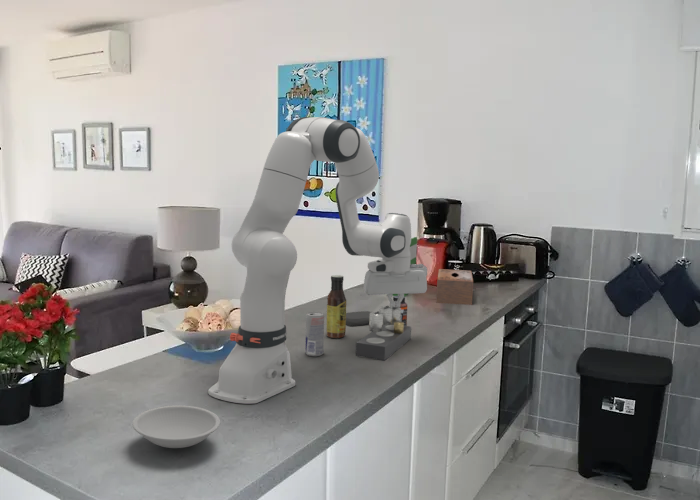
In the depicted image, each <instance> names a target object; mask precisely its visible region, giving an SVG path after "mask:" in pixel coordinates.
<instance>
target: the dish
mask: <svg viewBox="0 0 700 500" xmlns="http://www.w3.org/2000/svg"><path fill="white" fill-rule="evenodd" d="M220 425H221V420H220V417H219V416H218V415H217V414H216V413H214V412H213V411H210V410H209V409H206V408H203V407H199V406H193V405H179V404H178V405H165V406H159V407H154V408H150V409H148V410H145V411H142V412H140V413H139V414H137V415H136V416H135V417H134V418H133V420H132V428H133V430H135V432H136V433H138V434H140V435H141V436H143V437H144V439H146V440H147V441H149V443H152V444H153V445H154V444H155V445H157V446H158V447H159V446H160V447H162V448H167V449H183V448H189V447H192V446H195V445H197V444H199V443H201V442H203V441H204V440H205V439H207V438H208V437H209V436H210V435H211V434H212V433H215V432H216V431H217V430H218V429H219V427H220Z"/></svg>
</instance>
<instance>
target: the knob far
mask: <svg viewBox="0 0 700 500" xmlns="http://www.w3.org/2000/svg"><path fill="white" fill-rule="evenodd" d="M400 316H401V308H392V325H394V322H400Z"/></svg>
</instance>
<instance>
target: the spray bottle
mask: <svg viewBox="0 0 700 500" xmlns="http://www.w3.org/2000/svg"><path fill="white" fill-rule="evenodd" d="M371 312H372V311H369V310H367V311H366V310H364V311H350V312H346V327H360V326H369V313H371Z"/></svg>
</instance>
